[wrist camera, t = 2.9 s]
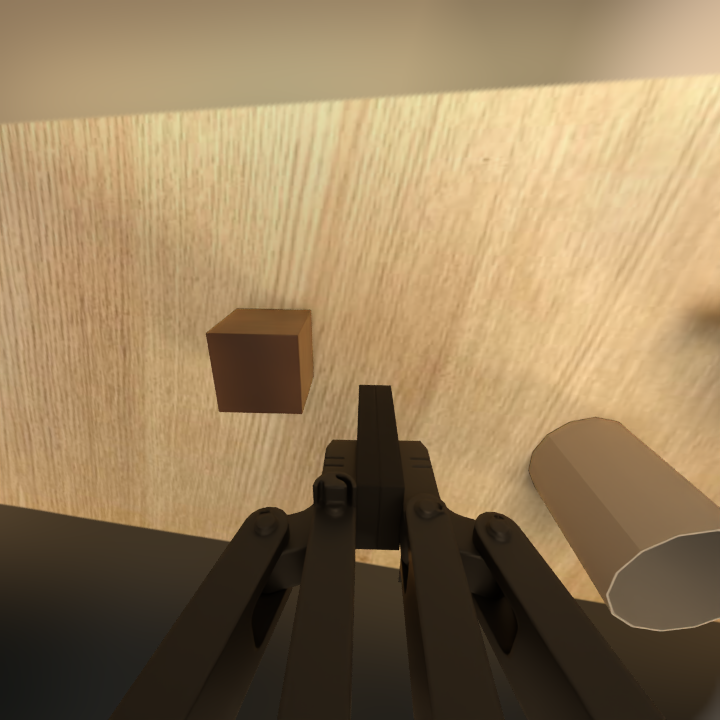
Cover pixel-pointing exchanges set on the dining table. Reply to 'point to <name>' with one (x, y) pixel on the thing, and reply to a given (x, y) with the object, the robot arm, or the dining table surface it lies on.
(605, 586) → the cup
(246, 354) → the walnut block
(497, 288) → the dining table surface
